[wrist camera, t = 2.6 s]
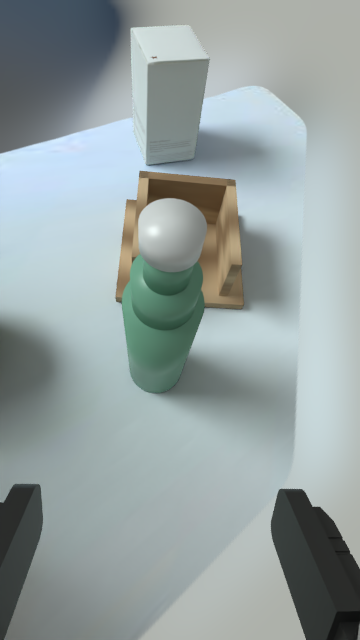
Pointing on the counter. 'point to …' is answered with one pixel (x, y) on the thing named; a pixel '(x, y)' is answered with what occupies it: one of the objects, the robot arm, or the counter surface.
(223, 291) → the U stand
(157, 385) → the green bottle
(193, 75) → the supplement box
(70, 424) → the counter surface
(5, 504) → the robot arm
